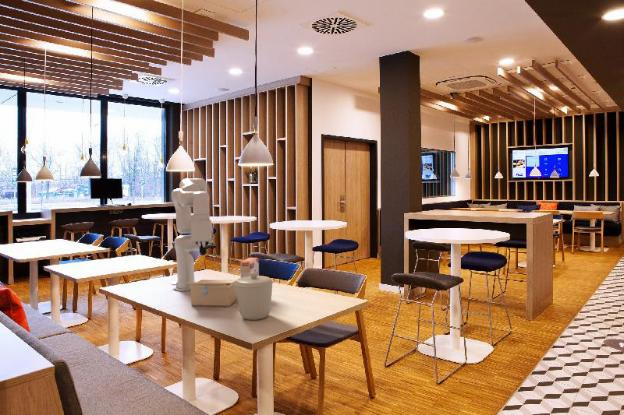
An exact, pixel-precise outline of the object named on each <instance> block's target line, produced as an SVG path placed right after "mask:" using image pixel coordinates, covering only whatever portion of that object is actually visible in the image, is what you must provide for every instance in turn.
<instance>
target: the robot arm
mask: <svg viewBox="0 0 624 415" xmlns="http://www.w3.org/2000/svg"><path fill="white" fill-rule="evenodd" d="M207 191H208V184H207V181H206V180H205V179H204V178H193V177H192V178H184V179H182V180H181V181H180V182H179V188H176V189H173V190H172V191H171V201H172V204H173V206H174V209H175V218H176V219H175V221H176V223H175V224H176V231H177V232H178V233H179V234H182V235H179V236H176V238H174V242H173V243H174V249H175V253H176V254H175V255H176V269H177V270H176V271H177V281H172V282H171V285H172V286H175V291H178V292H186V291H191V286H190V285H188V284H186V282H195V281H196V280H195V262H194V261H195V260H194V257H193V255H192V254H191V253H190V252H195V251H196V252H197V251H199V254H200V256H205V255H206V254H207V253H208V251H207V247H208V245H209V244H213V243H214V229H213V222H212V220H211V218H210V217H211V216H210V195H209V193H208V192H207ZM192 209H193V210H192ZM192 211H193V214H192ZM183 234H184V235H183Z"/></svg>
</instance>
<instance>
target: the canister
mask: <svg viewBox="0 0 624 415" xmlns="http://www.w3.org/2000/svg"><path fill="white" fill-rule="evenodd" d="M257 275H258V274H257V272H251V273H250V276H247V277H243V278H241V277H240V278H238V279H237V280H236V281H235V282H234V285H236V292H237V299H238V300H237V306H238V310H239V314H240V316H241V318H242V319H244V320H247V321H248V320H249V321H258V320H263V319H265V318H267V317H269V314H270V312H271V305H272V293H273V284H274V282H275V280H274V279H272V278H270V277H269V276H266V275H265V276H264V275H259V276H257Z"/></svg>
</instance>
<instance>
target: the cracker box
mask: <svg viewBox="0 0 624 415" xmlns="http://www.w3.org/2000/svg"><path fill="white" fill-rule="evenodd" d="M259 261H260V260H259V257H248V258H245V259H244V260H241V261H240V262H239V264H240V266H239V267H240V268H239V269H240V278H243V277H247V276H250V273H251V272H257V274H258V275H257V276H260V268H259V267H260V266H259V265H260V263H259Z"/></svg>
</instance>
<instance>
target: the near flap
mask: <svg viewBox="0 0 624 415" xmlns="http://www.w3.org/2000/svg"><path fill="white" fill-rule="evenodd" d="M186 284H188V285H190V286H205V287H204V289H203V290H202V294H203V295H207V294H208V290H207V289H206V288H207V287H228V285H226V284H225V283H217V282H198V281H196V282H186Z"/></svg>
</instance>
